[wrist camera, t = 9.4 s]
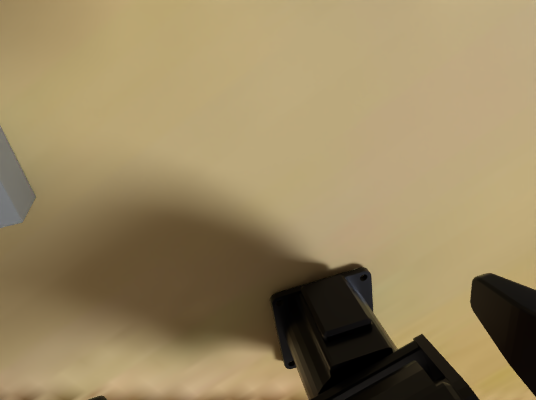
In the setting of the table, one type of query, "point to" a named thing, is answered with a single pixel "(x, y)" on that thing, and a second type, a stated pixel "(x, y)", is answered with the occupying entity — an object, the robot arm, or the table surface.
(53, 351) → the table surface
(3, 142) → the tray
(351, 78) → the table surface
